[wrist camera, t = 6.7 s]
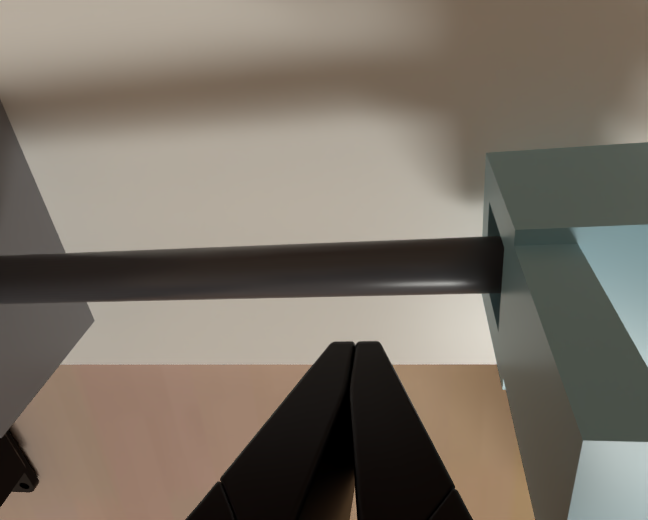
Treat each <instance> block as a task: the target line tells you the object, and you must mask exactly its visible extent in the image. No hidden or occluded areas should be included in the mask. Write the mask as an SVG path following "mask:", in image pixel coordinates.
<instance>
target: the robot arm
mask: <svg viewBox="0 0 648 520" xmlns="http://www.w3.org/2000/svg"><path fill="white" fill-rule="evenodd" d="M220 481H221V482H217V483H216V484H215V485H214V486H213V487H212V489H211V490H210V491H209V492H208V494H207V495H206V496H205V497H204V499H203V500H202V501H201V502H200V503H199V504H198V506H197V507H196V508H195V509H194V510H193V511H192V513H191V514H190V515H189V516H188V517H187V518H186V519H185V520H350V513H351V507H352V500H353V494H354V488H355V493H356V507H357V520H473V519H472V517H471V515H470V513H469V512H468V510H467V508H466V506H465V504H464V502H463V500H462V498H461V496H460V494H459V492H458V491H457V490H456V489H455V485H454V483H453V481H452V480H451V478H450V476H449V474H448V472H447V470H446V468H445V466H444V464H443V462H442V460H441V458H440V456H439V454H438V453H437V451H436V449H435V447H434V445H433V443H432V441H431V439H430V437H429V435H428V433H427V431H426V429H425V427H424V425H423V424H422V422H421V420H420V418H419V416H418V414H417V412H416V410H415V408H414V406H413V404H412V402H411V400H410V398H409V397H408V395H407V393H406V391H405V389H404V387H403V385H402V383H401V381H400V379H399V377H398V375H397V373H396V371H395V370H394V368H393V366H392V364H391V362H390V360H389V358H388V356H387V354H386V352H385V350H384V348H383V346H382V345H381V343H380V342H378V341H359V342H357V343H356V345H355V343H354V342H353V341H335V342H332V343H330V344H329V346H328V347H327V348H326V349H325V351H324V352H323V353H322V354H321V355H320V357H319V358H318V359H317V360H316V362H315V363H314V364H313V365H312V366H311V368H310V369H309V370H308V371H307V373H306V374H305V375H304V376H303V377H302V379H301V380H300V381H299V382H298V384H297V385H296V386H295V387H294V389H293V390H292V391H291V392H290V393H289V395H288V396H287V397H286V398H285V400H284V401H283V402H282V403H281V404H280V406H279V407H278V408H277V409H276V411H275V412H274V413H273V414H272V415H271V417H270V418H269V419H268V420H267V422H266V423H265V424H264V425H263V427H262V428H261V429H260V430H259V431H258V433H257V434H256V435H255V436H254V438H253V439H252V440H251V441H250V442H249V444H248V445H247V446H246V447H245V449H244V450H243V451H242V452H241V453H240V455H239V456H238V457H237V458H236V460H235V461H234V462H233V463H232V465H231V466H230V467H229V468H228V469H227V471H226V472H225V473H224V474H223V476H222V477H221V478H220ZM38 483H39V480H38V478H37V476H36V475H35V473H34V472H33V470H32V468H31V467H30V465H29V463H28V462H27V460H26V458H25V457H24V455H23V454H22V452H21V450H20V449H19V447H18V445H17V444H16V442H15V441H14V439H13V437H12V436H11V434H10V432H9V431H7V432H6V433H5V434H4V436H3V437H2V438H0V507H1V506H2V504H3V503H4V501H5V500H6V498H7V497H8V496H9V494H10V493H11V492H32V491H34V489H35V488H36V486H37V485H38Z"/></svg>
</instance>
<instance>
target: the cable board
mask: <svg viewBox="0 0 648 520" xmlns="http://www.w3.org/2000/svg"><path fill="white" fill-rule="evenodd" d="M643 142H648V0H0V438H2V437H3V436H4V434H5V433H6V432H7V431H8V429H9V428H10V427H11V426H12V424H13V423H14V422H15V421H16V419H17V418H18V417H19V416H20V414H21V413H22V412H23V411H24V409H25V408H26V407H27V405H28V404H29V403H30V402H31V400H32V399H33V398H34V397H35V395H36V394H37V393H38V392H39V390H40V389H41V388H42V387H43V385H44V384H45V383H46V382H47V380H48V379H49V378H50V377H51V375H52V374H53V373H54V372H55V370H56V369H57V368H58V366H59V365H60V364H314V363H315V362H316V360H317V359H318V358H319V357H320V355H321V354H322V353H323V352H324V351H325V349H326V348H327V347H328V346H329V344H330V343H332V342H335V341H353V342H354V343H355V345H356V343H357V342H359V341H378V342H380V343H381V345H382V346H383V348H384V350H385V352H386V354H387V356H388V358H389V360H390V362H391V364H497V362H496V358H495V353H494V348H493V344H492V339H491V335H490V330H489V326H488V321H487V316H486V312H485V307H484V303H483V298H482V294H489V293H501V288H502V273H503V258H504V245H503V242H502V239H501V236H485V237H482V230H483V207H484V184H485V160H486V153H489V152H504V151H520V150H535V149H550V148H566V147H581V146H597V145H612V144H627V143H643Z"/></svg>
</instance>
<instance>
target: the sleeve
mask: <svg viewBox="0 0 648 520" xmlns="http://www.w3.org/2000/svg"><path fill="white" fill-rule="evenodd" d="M485 236H501V239H502V242H503V245H504V258H503V273H502V288H501V293H489V294H482V298H483V303H484V307H485V312H486V316H487V321H488V326H489V330H490V335H491V339H492V344H493V348H494V353H495V358H496V362H497V367H498V371H499V376H500V380H501V385H502V390H506V392H507V397H508V401H509V406H510V410H511V414H512V419H513V423H514V428H515V432H516V437H517V441H518V445H519V450H520V454H521V459H522V463H523V468H524V472H525V476H526V481H527V485H528V490H529V494H530V499H531V503H532V507H533V512H534V516H535V520H648V142H643V143H627V144H612V145H597V146H581V147H566V148H550V149H535V150H520V151H504V152H489V153H486V160H485V184H484V207H483V230H482V237H485Z"/></svg>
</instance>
